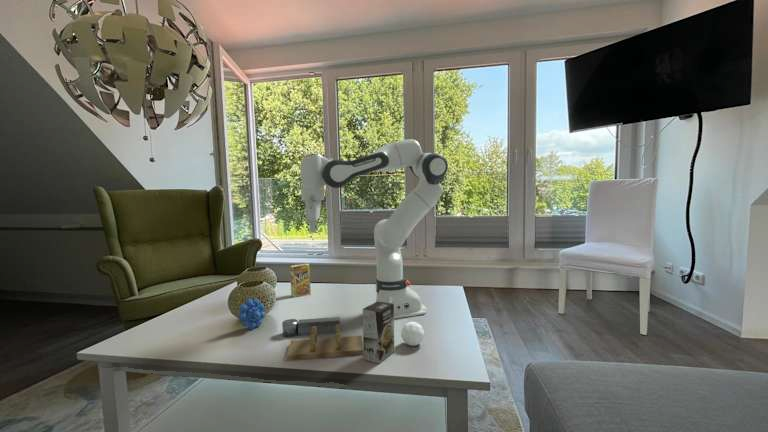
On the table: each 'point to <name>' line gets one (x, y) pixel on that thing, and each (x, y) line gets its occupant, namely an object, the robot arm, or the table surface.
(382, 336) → the coffee box
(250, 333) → the table surface
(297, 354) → the peg board
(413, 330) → the geometric ball
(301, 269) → the candy box
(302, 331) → the grey bar
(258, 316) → the grapes
